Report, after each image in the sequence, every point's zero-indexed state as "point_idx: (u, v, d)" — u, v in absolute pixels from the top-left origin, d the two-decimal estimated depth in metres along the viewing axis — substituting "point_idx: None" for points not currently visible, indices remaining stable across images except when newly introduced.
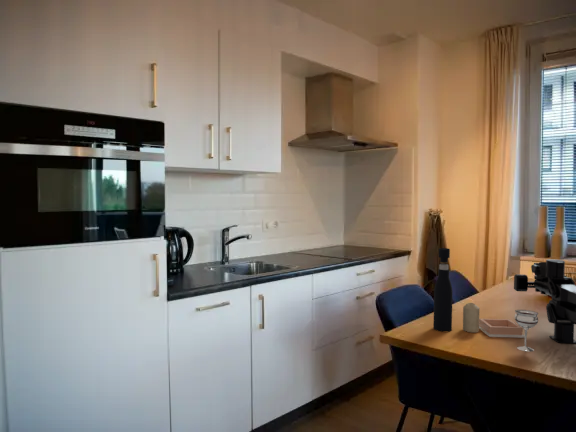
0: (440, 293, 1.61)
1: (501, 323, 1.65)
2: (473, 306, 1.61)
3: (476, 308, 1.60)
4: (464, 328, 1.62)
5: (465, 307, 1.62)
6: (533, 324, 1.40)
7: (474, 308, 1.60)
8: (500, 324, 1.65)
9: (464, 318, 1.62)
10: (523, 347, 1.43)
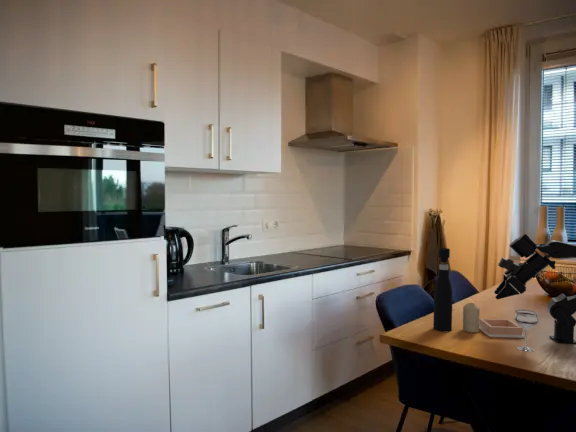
0: (440, 293, 1.61)
1: (501, 323, 1.65)
2: (473, 306, 1.61)
3: (476, 308, 1.60)
4: (464, 328, 1.62)
5: (465, 307, 1.62)
6: (533, 324, 1.40)
7: (474, 308, 1.60)
8: (500, 324, 1.65)
9: (464, 318, 1.62)
10: (523, 347, 1.43)
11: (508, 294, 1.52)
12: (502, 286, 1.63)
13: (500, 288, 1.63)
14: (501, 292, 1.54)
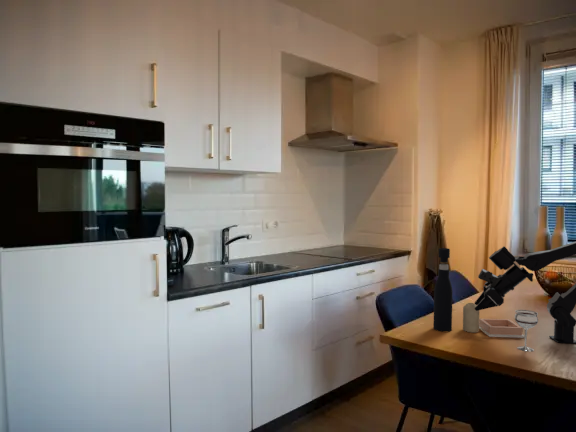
0: (440, 293, 1.61)
1: (501, 323, 1.65)
2: (473, 306, 1.61)
3: None
4: (464, 328, 1.62)
5: (465, 307, 1.62)
6: (533, 324, 1.40)
7: (474, 308, 1.60)
8: (500, 324, 1.65)
9: (464, 318, 1.62)
10: (523, 347, 1.43)
11: (487, 306, 1.55)
12: (482, 297, 1.65)
13: (480, 299, 1.66)
14: (480, 304, 1.56)
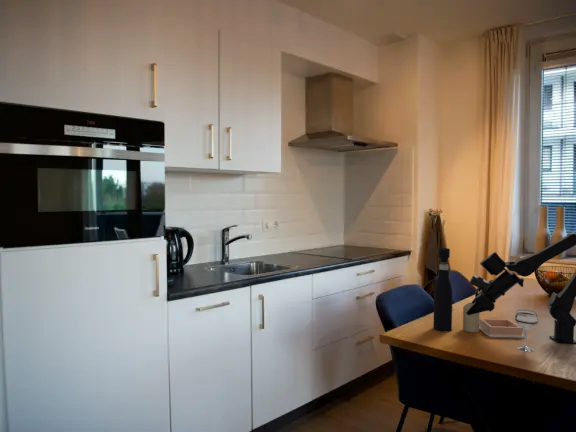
0: (440, 293, 1.61)
1: (501, 323, 1.65)
2: None
3: None
4: (464, 328, 1.62)
5: (465, 307, 1.62)
6: (533, 324, 1.40)
7: None
8: (500, 324, 1.65)
9: (464, 318, 1.62)
10: (523, 347, 1.43)
11: (478, 310, 1.58)
12: (474, 303, 1.65)
13: None
14: (471, 309, 1.59)
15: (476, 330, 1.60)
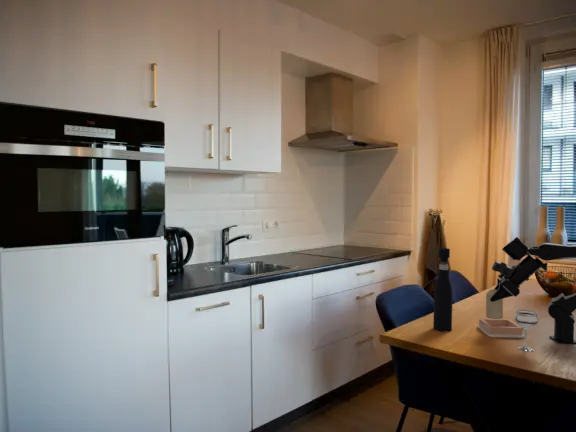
0: (440, 293, 1.61)
1: (501, 323, 1.65)
2: None
3: None
4: (488, 315, 1.60)
5: (488, 294, 1.60)
6: (533, 324, 1.40)
7: None
8: (500, 324, 1.65)
9: (487, 305, 1.60)
10: (523, 347, 1.43)
11: (502, 296, 1.56)
12: (497, 290, 1.63)
13: None
14: (495, 295, 1.57)
15: (500, 317, 1.58)
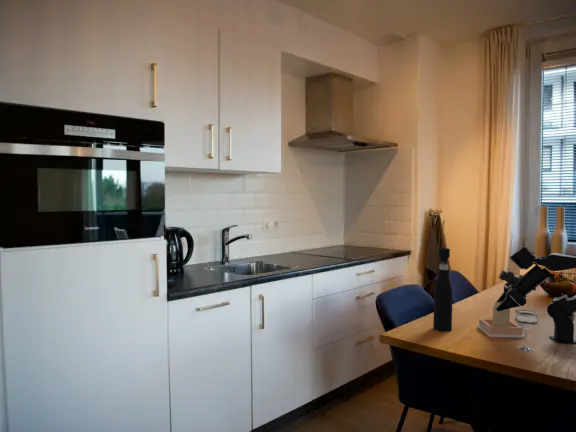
0: (440, 293, 1.61)
1: None
2: None
3: None
4: None
5: (495, 306, 1.60)
6: (533, 324, 1.40)
7: None
8: None
9: (494, 317, 1.60)
10: (523, 347, 1.43)
11: (509, 306, 1.55)
12: (503, 298, 1.64)
13: (501, 300, 1.64)
14: (502, 304, 1.56)
15: None
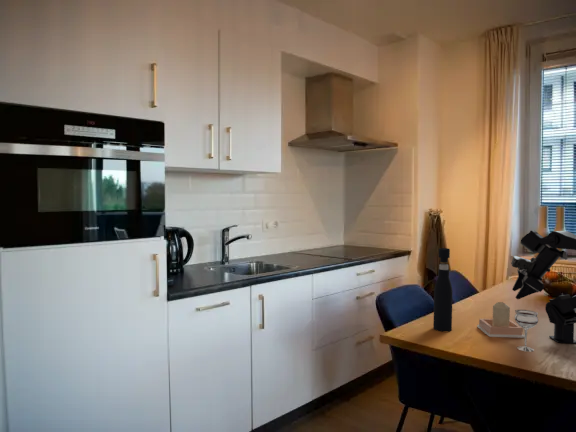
0: (440, 293, 1.61)
1: None
2: (503, 305, 1.59)
3: (506, 307, 1.58)
4: None
5: (495, 306, 1.60)
6: (533, 324, 1.40)
7: (504, 307, 1.58)
8: None
9: (494, 317, 1.60)
10: (523, 347, 1.43)
11: (527, 293, 1.55)
12: (519, 282, 1.65)
13: (517, 284, 1.65)
14: (520, 292, 1.56)
15: None
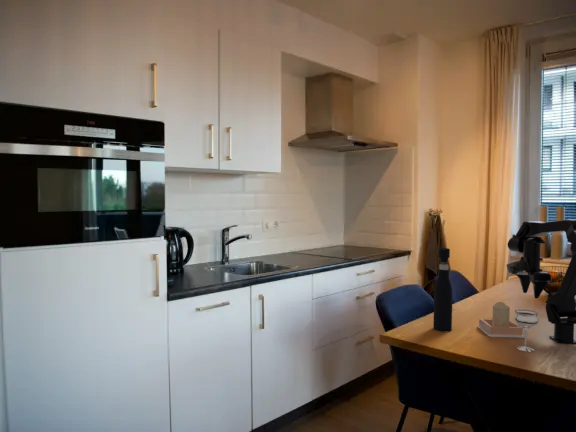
0: (440, 293, 1.61)
1: None
2: (503, 305, 1.59)
3: (506, 307, 1.58)
4: None
5: (495, 306, 1.60)
6: (533, 324, 1.40)
7: (504, 307, 1.58)
8: None
9: (494, 317, 1.60)
10: (523, 347, 1.43)
11: (541, 288, 1.61)
12: (524, 283, 1.72)
13: (524, 286, 1.72)
14: (536, 291, 1.62)
15: None
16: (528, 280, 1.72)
